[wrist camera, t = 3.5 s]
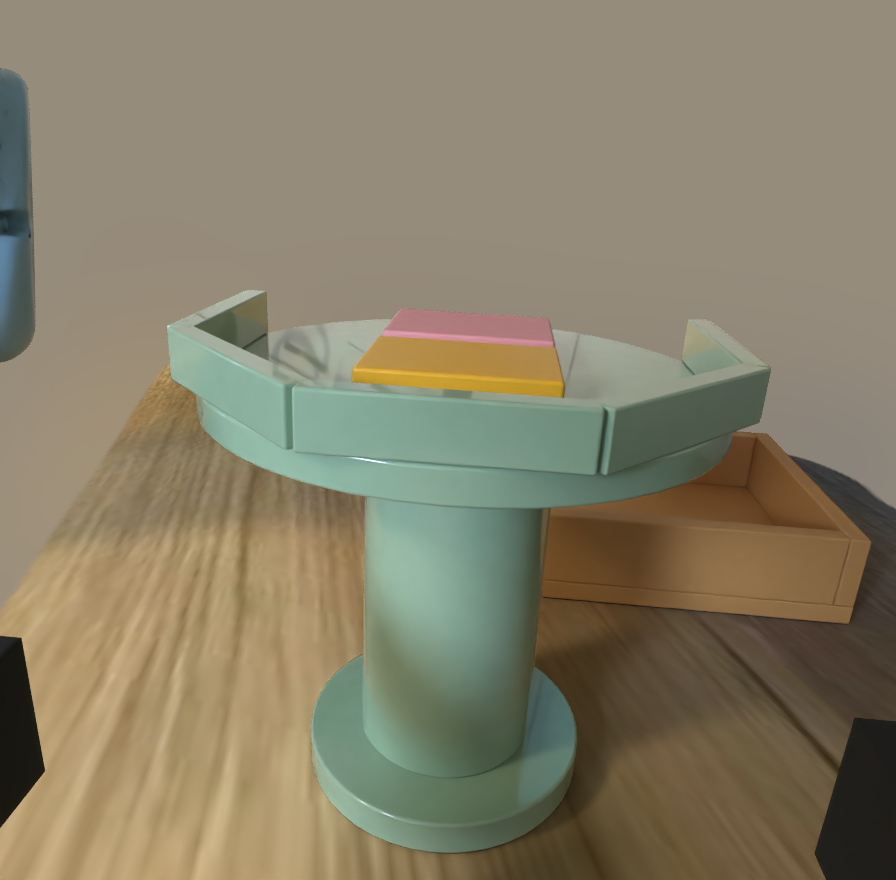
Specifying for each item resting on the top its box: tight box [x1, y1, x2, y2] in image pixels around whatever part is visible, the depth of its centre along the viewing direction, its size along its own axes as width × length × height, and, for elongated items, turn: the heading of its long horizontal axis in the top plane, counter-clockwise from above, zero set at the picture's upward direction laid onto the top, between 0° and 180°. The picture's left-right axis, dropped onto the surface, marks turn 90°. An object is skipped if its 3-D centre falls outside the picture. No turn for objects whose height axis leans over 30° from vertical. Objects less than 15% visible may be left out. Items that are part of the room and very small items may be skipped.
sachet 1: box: [383, 309, 555, 348], centre depth 20 cm, size 4×3×1 cm
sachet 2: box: [352, 336, 565, 398], centre depth 17 cm, size 4×3×1 cm
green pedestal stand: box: [167, 290, 771, 853], centre depth 20 cm, size 13×13×13 cm
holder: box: [542, 431, 871, 624], centre depth 36 cm, size 20×13×4 cm, turn 85°
